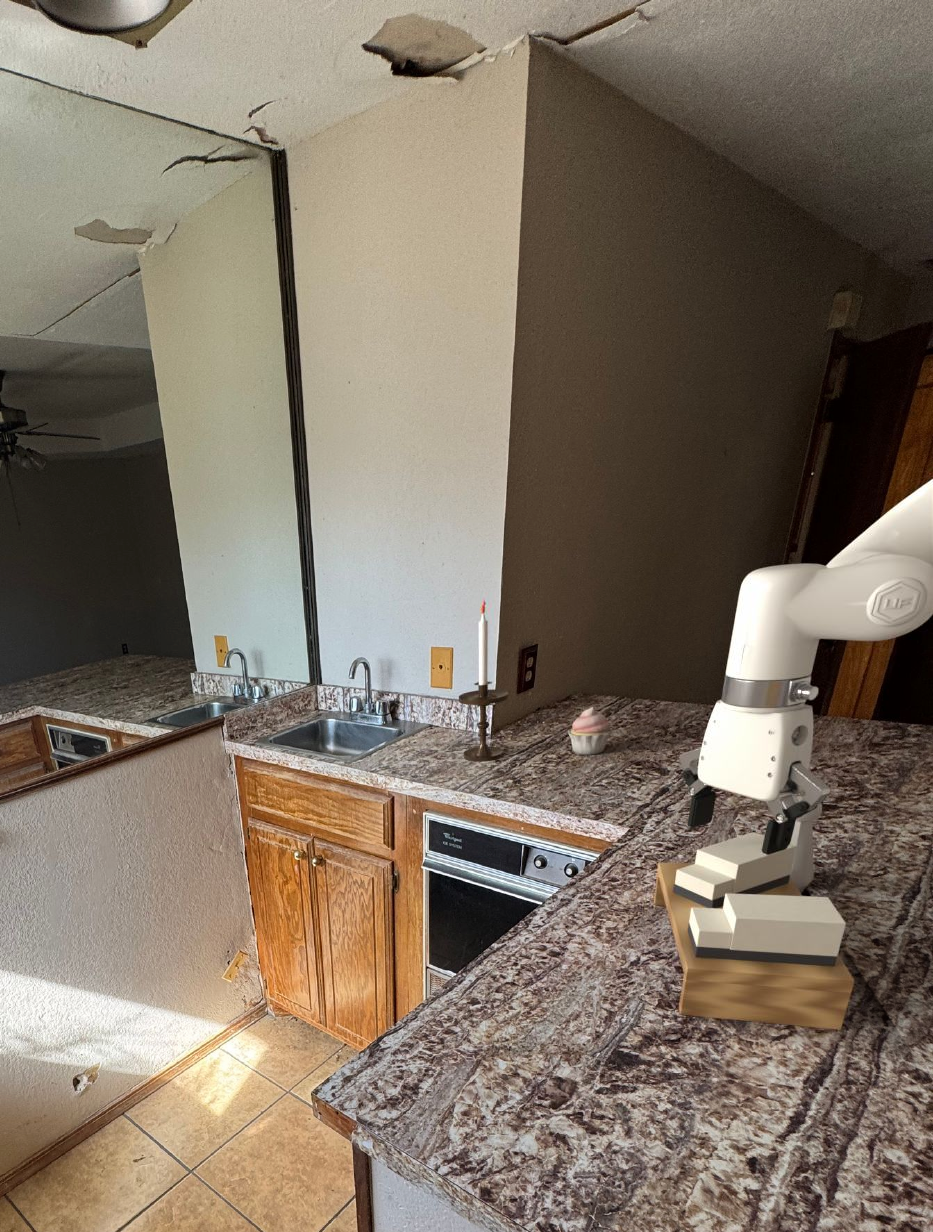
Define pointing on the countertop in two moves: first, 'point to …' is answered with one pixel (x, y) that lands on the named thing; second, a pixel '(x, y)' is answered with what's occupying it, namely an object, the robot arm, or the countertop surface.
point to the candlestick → (483, 699)
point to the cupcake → (590, 732)
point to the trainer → (733, 870)
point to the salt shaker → (803, 848)
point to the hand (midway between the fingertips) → (734, 837)
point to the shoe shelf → (752, 975)
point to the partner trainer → (768, 929)
